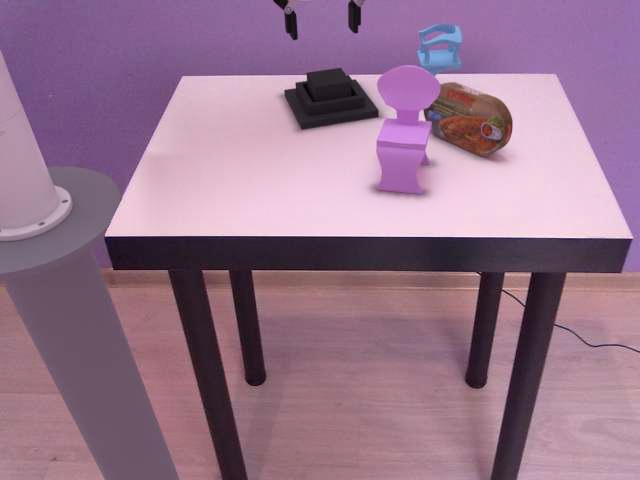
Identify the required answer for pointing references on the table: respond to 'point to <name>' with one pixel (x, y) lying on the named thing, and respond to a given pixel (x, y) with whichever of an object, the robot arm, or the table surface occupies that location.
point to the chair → (440, 58)
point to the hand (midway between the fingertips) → (323, 34)
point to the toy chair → (405, 126)
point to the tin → (470, 119)
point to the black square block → (328, 85)
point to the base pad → (329, 106)
